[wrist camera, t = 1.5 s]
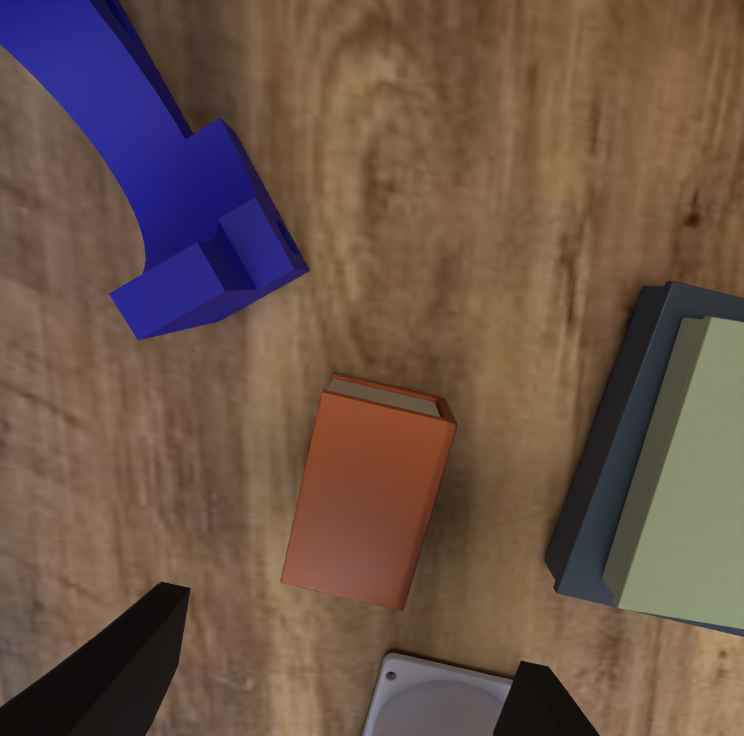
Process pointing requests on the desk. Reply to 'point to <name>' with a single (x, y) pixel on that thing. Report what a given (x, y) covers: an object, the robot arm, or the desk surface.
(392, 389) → the book
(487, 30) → the desk surface
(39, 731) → the robot arm
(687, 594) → the box stack
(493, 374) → the desk surface
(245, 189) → the blue curved piece
